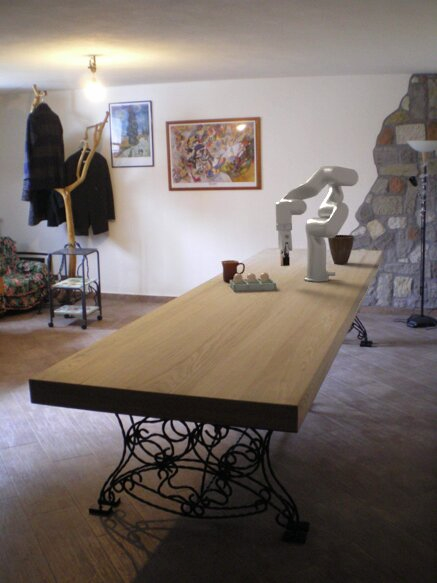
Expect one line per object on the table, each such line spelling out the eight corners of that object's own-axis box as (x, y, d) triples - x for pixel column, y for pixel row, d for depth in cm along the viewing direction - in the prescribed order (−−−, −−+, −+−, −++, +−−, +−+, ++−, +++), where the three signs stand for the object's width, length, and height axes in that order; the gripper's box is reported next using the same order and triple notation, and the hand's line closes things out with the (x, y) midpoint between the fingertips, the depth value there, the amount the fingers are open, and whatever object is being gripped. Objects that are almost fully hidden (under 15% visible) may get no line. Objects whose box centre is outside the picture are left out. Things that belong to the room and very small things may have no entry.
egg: (288, 264, 322) (288, 251, 320) (290, 265, 318) (290, 253, 316) (279, 264, 321) (279, 252, 320) (281, 266, 317) (281, 253, 316)
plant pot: (322, 262, 387) (322, 235, 383) (343, 260, 393) (344, 234, 390) (337, 266, 373) (337, 238, 370) (358, 264, 380) (359, 236, 376)
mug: (220, 283, 333) (220, 263, 331) (222, 279, 342) (222, 260, 340) (244, 283, 332) (244, 262, 330) (245, 279, 340) (245, 260, 338)
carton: (270, 284, 327) (270, 270, 326) (276, 289, 314) (275, 275, 312) (229, 286, 325) (229, 272, 323) (234, 291, 311) (233, 277, 310)
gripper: (296, 228, 307) (296, 267, 312) (287, 224, 324) (288, 260, 328) (280, 229, 307) (281, 268, 311) (272, 225, 323) (273, 262, 327)
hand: (285, 264), depth 319 cm, fingers closed on egg, 4 cm apart
